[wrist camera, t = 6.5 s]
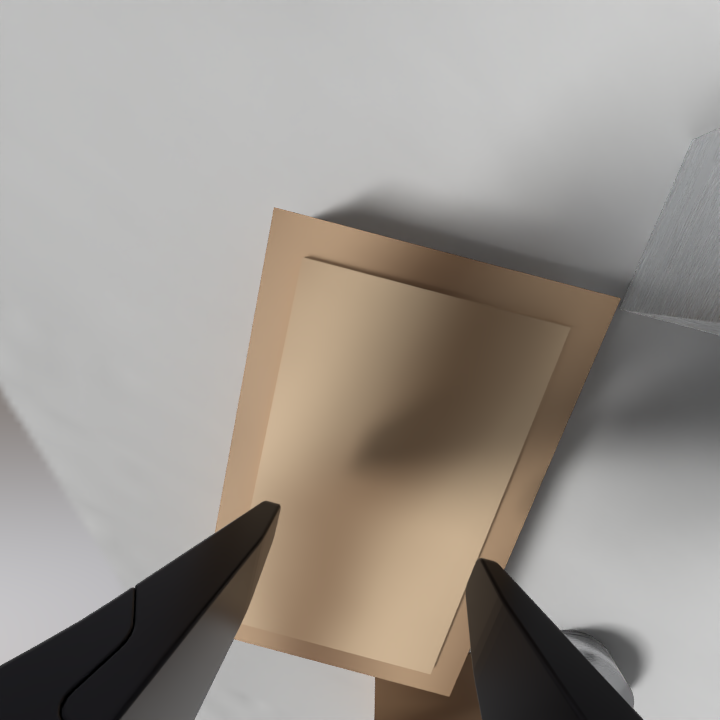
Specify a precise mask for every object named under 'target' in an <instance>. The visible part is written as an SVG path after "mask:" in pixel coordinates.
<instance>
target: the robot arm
mask: <svg viewBox="0 0 720 720" xmlns="http://www.w3.org/2000/svg"><path fill="white" fill-rule="evenodd" d="M280 510H281V506H280V504H277V503H274V502H270V501H263V502H261V503H260V504H258V505H257V506H255V507H254V508H252V509H250V510H249V511H247V512H246V513H244V514H243V515H241V516H240V517H238V518H237V519H235V520H234V521H232V522H231V523H229V524H228V525H226V526H225V527H223V528H222V529H220V530H219V531H217V532H216V533H214V534H213V535H211V536H210V537H208V538H206V539H205V540H203V541H202V542H200V543H199V544H197V545H196V546H194V547H193V548H191V549H190V550H188V551H187V552H185V553H184V554H182V555H181V556H179V557H178V558H176V559H175V560H173V561H172V562H170V563H169V564H167V565H166V566H164V567H162V568H161V569H159V570H158V571H156V572H155V573H153V574H152V575H150V576H149V577H147V578H146V579H144V580H143V581H141V582H140V583H138V584H137V585H136V586H135V588H130V589H129V590H127V591H126V592H124V593H123V594H121V595H120V596H118V597H117V598H115V599H114V600H112V601H111V602H109V603H107V604H106V605H104V606H103V607H101V608H99V609H98V610H96V611H95V612H93V613H91V614H90V615H88V616H87V617H85V618H83V619H82V620H81V621H79V622H77V623H75V624H73V625H72V626H70V627H69V628H66V629H65V630H63V631H61V632H59V633H58V634H56V635H54V636H53V637H51V638H49V639H47V640H46V641H44V642H42V643H40V644H39V645H37V646H35V647H33V648H31V649H30V650H28V651H26V652H24V653H22V654H21V655H19V656H17V657H15V658H13V659H12V660H10V661H8V662H6V663H4V664H2V665H1V666H0V720H194V719H195V717H196V715H197V713H198V711H199V709H200V707H201V705H202V703H203V701H204V699H205V697H206V695H207V693H208V691H209V689H210V687H211V685H212V683H213V681H214V679H215V676H216V674H217V672H218V670H219V668H220V666H221V664H222V662H223V660H224V658H225V656H226V654H227V652H228V650H229V648H230V646H231V644H232V642H233V640H234V638H235V636H236V633H237V631H238V629H239V627H240V625H241V623H242V621H243V619H244V617H245V615H246V612H247V610H248V608H249V605H250V603H251V600H252V597H253V595H254V592H255V589H256V586H257V584H258V581H259V578H260V575H261V573H262V570H263V567H264V564H265V562H266V559H267V556H268V553H269V551H270V548H271V545H272V542H273V539H274V536H275V532H276V527H277V523H278V519H279V514H280ZM465 595H466V606H467V617H468V627H469V638H470V648H471V658H472V667H473V674H474V680H475V686H476V691H477V696H478V702H479V707H480V712H481V718H482V720H643V719H642V718H641V717H640V715H639V714H638V713H637V712H636V711H635V710H634V709H633V708H632V707H631V706H630V705H629V704H628V703H627V701H626V700H625V699H624V698H623V697H622V696H621V695H620V694H619V693H618V692H617V691H616V690H615V689H614V687H613V686H612V685H611V684H610V683H609V682H608V681H607V680H606V679H605V678H604V677H603V676H602V675H601V674H600V672H599V671H598V670H597V669H596V668H595V667H594V666H593V665H592V664H591V663H590V662H589V661H588V660H587V658H586V657H585V656H584V655H583V654H582V653H581V652H580V651H579V650H578V649H577V648H576V647H575V646H574V644H573V643H572V642H571V641H570V640H569V639H568V638H567V637H566V636H565V635H564V634H563V633H562V632H561V630H560V629H559V628H558V627H557V626H556V625H555V624H554V623H553V622H552V621H551V620H550V619H549V618H548V617H547V615H546V614H545V613H544V612H543V611H542V610H541V609H540V608H539V607H538V606H537V605H536V604H535V603H534V601H533V600H532V599H531V598H530V597H529V596H528V595H527V594H526V593H525V592H524V591H523V590H522V589H521V587H520V586H519V585H518V584H517V583H516V582H515V581H514V580H513V579H512V578H511V577H510V576H509V575H508V574H507V572H506V571H505V570H504V569H503V568H502V567H501V566H500V565H499V564H498V563H497V562H495V561H492V560H488V559H485V558H479V559H477V561H476V563H475V565H474V567H473V570H472V572H471V575H470V577H469V580H468V582H467V585H466V593H465Z"/></svg>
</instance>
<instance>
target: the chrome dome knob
mask: <svg viewBox="0 0 720 720" xmlns="http://www.w3.org/2000/svg"><path fill="white" fill-rule="evenodd" d="M561 632H562V633H563V634H564V635H565V636H566V637H567V638H568V639H569V640H570V641H571V642H572V643H573V644H574V646H575V647H576V648H577V649H578V650H579V651H580V652H581V653H582V654H583V655H584V656H585V657H586V658H587V660H588V661H589V662H590V663H591V664H592V665H593V666H594V667H595V668H596V669H597V670H598V671H599V672H600V674H601V675H602V676H603V677H604V678H605V679H606V680H607V681H608V682H609V683H610V684H611V685H612V686H613V687H614V689H615V690H616V691H617V692H618V693H619V694H620V695H621V696H622V697H623V698H624V699H625V700H626V701H627V703H628V704H629V705H630V706H631V707H632V708H633V707H634V697H633V693H632V691H631V689H630V687H629V685H628V683H627V682H626V680H625V678H624V677H623V675H622V673H621V672H620V670H619V668H618V667H617V665H616V663H615V662H614V660H613V658H612V657H611V655H610V653H609V652H608V650H607V649H606V648H605V646H604V645H603V644H602V643H600V642H599V641H598V640H596V639H595V638H593V637H591V636H589V635H587V634H584V633H581V632H576V631H561Z"/></svg>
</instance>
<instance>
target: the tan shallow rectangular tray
mask: <svg viewBox="0 0 720 720" xmlns="http://www.w3.org/2000/svg"><path fill="white" fill-rule="evenodd" d="M620 299H621V298H618V297H614V296H610V295H606V294H602V293H599V292H595V291H591V290H587V289H583V288H580V287H576V286H572V285H568V284H564V283H560V282H557V281H553V280H549V279H545V278H541V277H538V276H534V275H530V274H526V273H522V272H519V271H515V270H511V269H507V268H503V267H500V266H496V265H492V264H488V263H484V262H480V261H477V260H473V259H469V258H465V257H461V256H458V255H454V254H450V253H446V252H442V251H439V250H435V249H431V248H427V247H423V246H420V245H416V244H412V243H408V242H404V241H400V240H397V239H393V238H389V237H385V236H381V235H378V234H374V233H370V232H366V231H362V230H359V229H355V228H351V227H347V226H343V225H340V224H336V223H332V222H328V221H324V220H320V219H317V218H313V217H309V216H305V215H301V214H298V213H294V212H290V211H286V210H282V209H279V208H275V207H274V210H273V216H272V221H271V227H270V232H269V238H268V243H267V249H266V254H265V260H264V265H263V271H262V276H261V282H260V287H259V293H258V299H257V304H256V310H255V315H254V321H253V326H252V332H251V337H250V343H249V348H248V354H247V359H246V365H245V370H244V376H243V381H242V387H241V392H240V398H239V403H238V409H237V414H236V420H235V425H234V431H233V436H232V442H231V447H230V453H229V458H228V464H227V469H226V475H225V480H224V486H223V491H222V497H221V502H220V508H219V513H218V519H217V524H216V530H215V533H216V532H217V531H219V530H220V529H222V528H223V527H225V526H226V525H228V524H229V523H231V522H232V521H234V520H235V519H237V518H238V517H240V516H241V515H243V514H244V513H246V512H247V511H249V510H250V509H252V508H254V507H255V506H257V505H258V504H260V503H261V502H263V501H270V502H274V503H277V504H280V506H281V510H280V514H279V519H278V523H277V527H276V532H275V536H274V539H273V542H272V545H271V548H270V551H269V553H268V556H267V559H266V562H265V564H264V567H263V570H262V573H261V575H260V578H259V581H258V584H257V586H256V589H255V592H254V595H253V597H252V600H251V603H250V605H249V608H248V610H247V612H246V615H245V617H244V619H243V621H242V623H241V625H240V627H239V629H238V631H237V633H236V636H235V638H234V639H235V640H239V641H243V642H246V643H250V644H254V645H258V646H261V647H265V648H269V649H273V650H276V651H280V652H284V653H288V654H291V655H295V656H299V657H303V658H306V659H310V660H314V661H317V662H321V663H325V664H329V665H332V666H336V667H340V668H344V669H347V670H351V671H355V672H359V673H362V674H366V675H370V676H374V677H377V678H381V679H385V680H389V681H392V682H396V683H400V684H403V685H407V686H411V687H415V688H418V689H422V690H426V691H430V692H433V693H437V694H441V695H445V696H448V697H449V696H450V694H451V692H452V689H453V687H454V685H455V683H456V680H457V678H458V676H459V673H460V671H461V669H462V666H463V664H464V662H465V659H466V657H467V655H468V652H469V650H470V638H469V627H468V617H467V606H466V595H465V593H466V585H467V582H468V580H469V577H470V575H471V572H472V570H473V567H474V565H475V563H476V561H477V559H479V558H485V559H488V560H492V561H495V562H497V563H498V564H499V565H500V566H501V567H502V568H503V569H505V566H506V564H507V562H508V559H509V557H510V555H511V552H512V550H513V548H514V545H515V543H516V541H517V539H518V536H519V534H520V532H521V529H522V527H523V525H524V522H525V520H526V518H527V515H528V513H529V511H530V508H531V506H532V504H533V501H534V499H535V497H536V494H537V492H538V490H539V487H540V485H541V483H542V480H543V478H544V476H545V473H546V471H547V469H548V467H549V464H550V462H551V460H552V457H553V455H554V453H555V450H556V448H557V446H558V443H559V441H560V439H561V436H562V434H563V432H564V429H565V427H566V425H567V422H568V420H569V418H570V415H571V413H572V411H573V408H574V406H575V404H576V401H577V399H578V397H579V395H580V392H581V390H582V388H583V385H584V383H585V381H586V378H587V376H588V374H589V371H590V369H591V367H592V364H593V362H594V360H595V357H596V355H597V353H598V350H599V348H600V346H601V343H602V341H603V339H604V336H605V334H606V332H607V329H608V327H609V325H610V322H611V320H612V318H613V316H614V313H615V311H616V309H617V306H618V304H619V302H620Z"/></svg>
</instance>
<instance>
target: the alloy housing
mask: <svg viewBox="0 0 720 720" xmlns="http://www.w3.org/2000/svg"><path fill="white" fill-rule="evenodd" d="M619 309H620V310H624V311H628V312H632V313H635V314H639V315H643V316H647V317H651V318H654V319H658V320H662V321H666V322H670V323H674V324H677V325H681V326H685V327H689V328H693V329H696V330H700V331H704V332H708V333H712V334H715V335H719V336H720V128H718V129H716V130H714V131H711V132H709V133H707V134H705V135H702V136H700V137H698V138H696V139H693V140H692V142H691V144H690V147H689V149H688V151H687V153H686V156H685V158H684V160H683V163H682V165H681V167H680V170H679V172H678V174H677V177H676V179H675V181H674V184H673V186H672V188H671V190H670V193H669V195H668V197H667V200H666V202H665V204H664V207H663V209H662V211H661V214H660V216H659V218H658V221H657V223H656V225H655V227H654V230H653V232H652V234H651V237H650V239H649V241H648V244H647V246H646V248H645V251H644V253H643V255H642V258H641V260H640V262H639V264H638V267H637V269H636V271H635V274H634V276H633V278H632V281H631V283H630V285H629V288H628V290H627V292H626V295H625V297H624V299H623V301H622V304H621V306H620V308H619Z"/></svg>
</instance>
